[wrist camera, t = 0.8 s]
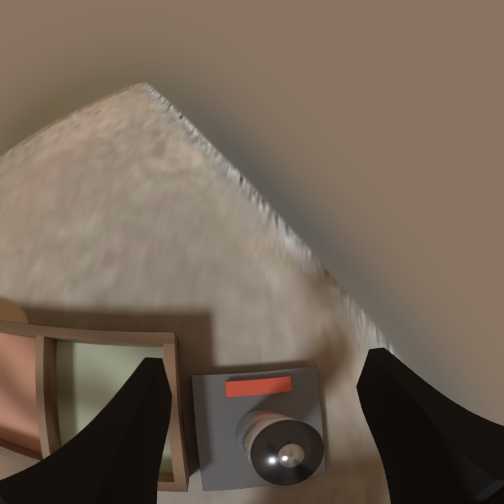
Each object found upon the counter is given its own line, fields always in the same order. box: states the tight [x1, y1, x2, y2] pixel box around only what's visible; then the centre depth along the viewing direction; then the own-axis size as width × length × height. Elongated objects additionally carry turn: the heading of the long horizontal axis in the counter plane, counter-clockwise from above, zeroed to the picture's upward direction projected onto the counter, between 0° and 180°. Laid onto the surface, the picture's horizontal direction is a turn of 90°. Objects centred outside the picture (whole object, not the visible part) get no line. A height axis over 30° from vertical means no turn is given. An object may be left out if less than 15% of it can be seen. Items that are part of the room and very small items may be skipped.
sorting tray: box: [0, 320, 189, 492], centre depth 16 cm, size 12×22×4 cm, turn 94°
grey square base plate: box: [192, 366, 325, 491], centre depth 19 cm, size 10×10×2 cm
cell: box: [236, 409, 324, 485], centre depth 16 cm, size 4×4×8 cm
